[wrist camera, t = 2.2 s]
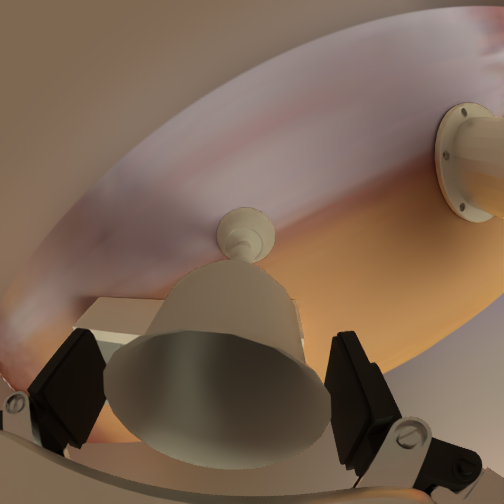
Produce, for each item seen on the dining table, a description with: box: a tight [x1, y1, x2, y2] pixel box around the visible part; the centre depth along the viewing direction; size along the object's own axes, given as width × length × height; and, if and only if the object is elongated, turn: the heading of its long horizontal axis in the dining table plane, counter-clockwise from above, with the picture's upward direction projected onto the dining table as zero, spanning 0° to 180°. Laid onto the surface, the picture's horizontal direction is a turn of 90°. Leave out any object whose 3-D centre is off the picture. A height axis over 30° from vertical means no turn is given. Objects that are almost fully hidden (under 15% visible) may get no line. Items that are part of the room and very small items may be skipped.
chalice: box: [103, 208, 331, 469], centre depth 15 cm, size 7×7×18 cm
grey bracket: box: [72, 297, 304, 405], centre depth 25 cm, size 21×11×7 cm, turn 92°
